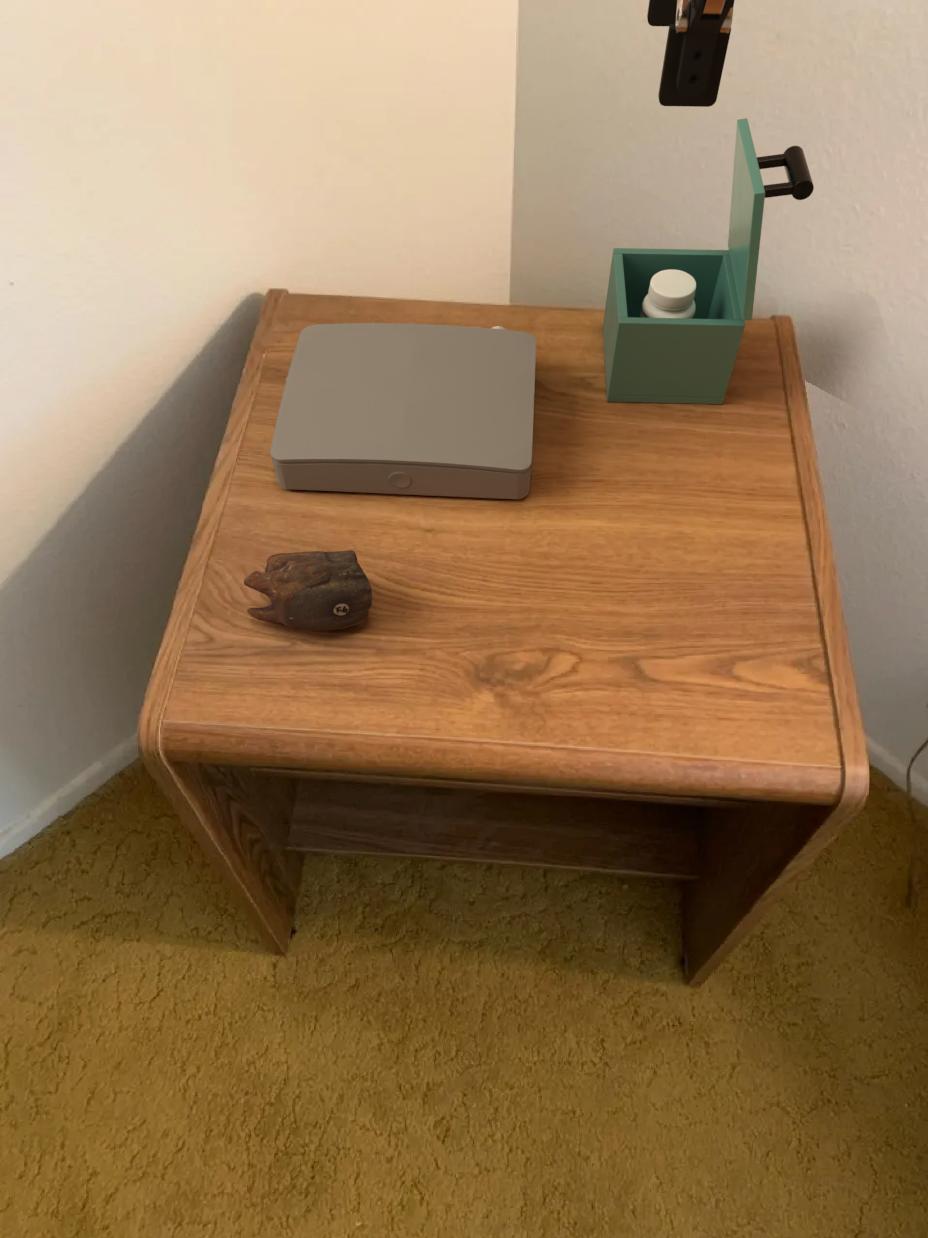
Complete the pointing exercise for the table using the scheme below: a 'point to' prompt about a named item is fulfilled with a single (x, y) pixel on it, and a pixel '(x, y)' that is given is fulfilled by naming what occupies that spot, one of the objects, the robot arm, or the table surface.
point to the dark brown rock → (313, 590)
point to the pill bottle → (670, 296)
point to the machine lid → (757, 206)
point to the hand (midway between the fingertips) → (678, 61)
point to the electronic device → (408, 411)
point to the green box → (670, 330)
